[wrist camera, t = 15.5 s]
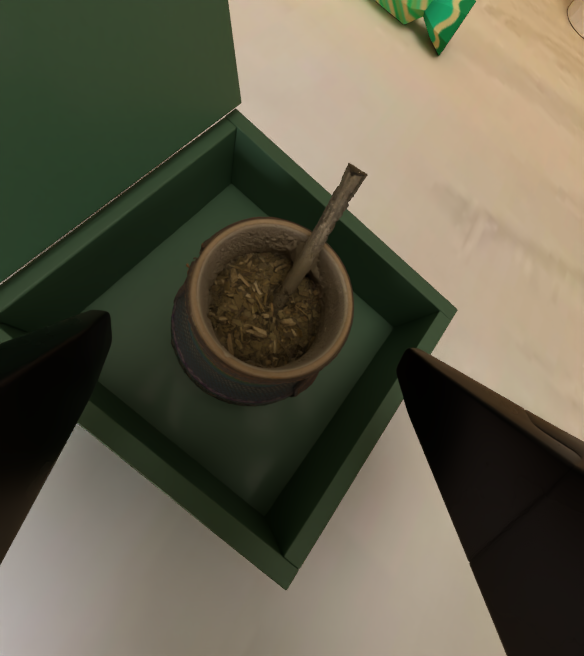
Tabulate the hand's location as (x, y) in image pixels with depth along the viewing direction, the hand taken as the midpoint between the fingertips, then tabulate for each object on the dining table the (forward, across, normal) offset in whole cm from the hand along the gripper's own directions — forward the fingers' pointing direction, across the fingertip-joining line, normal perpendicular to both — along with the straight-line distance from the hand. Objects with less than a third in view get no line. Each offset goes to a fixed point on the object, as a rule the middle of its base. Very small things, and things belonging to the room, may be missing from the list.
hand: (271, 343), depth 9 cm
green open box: (+8, 0, +5) cm, 9 cm away
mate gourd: (+7, 0, +4) cm, 8 cm away
